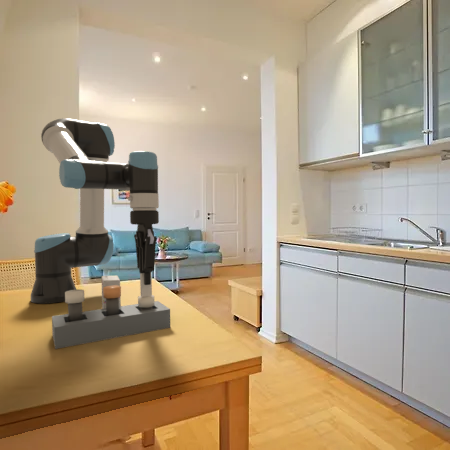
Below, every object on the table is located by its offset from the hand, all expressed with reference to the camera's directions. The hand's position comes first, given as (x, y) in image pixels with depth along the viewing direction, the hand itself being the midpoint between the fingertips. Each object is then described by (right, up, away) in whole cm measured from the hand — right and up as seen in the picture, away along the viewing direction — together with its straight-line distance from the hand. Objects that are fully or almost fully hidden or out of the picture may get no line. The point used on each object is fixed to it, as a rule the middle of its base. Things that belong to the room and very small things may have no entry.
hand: (146, 295), depth 95 cm
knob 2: (0, -8, 0) cm, 8 cm away
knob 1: (-16, -5, -9) cm, 19 cm away
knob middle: (-8, -5, -4) cm, 10 cm away
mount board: (-8, -9, -4) cm, 12 cm away
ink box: (-12, -8, +9) cm, 18 cm away
